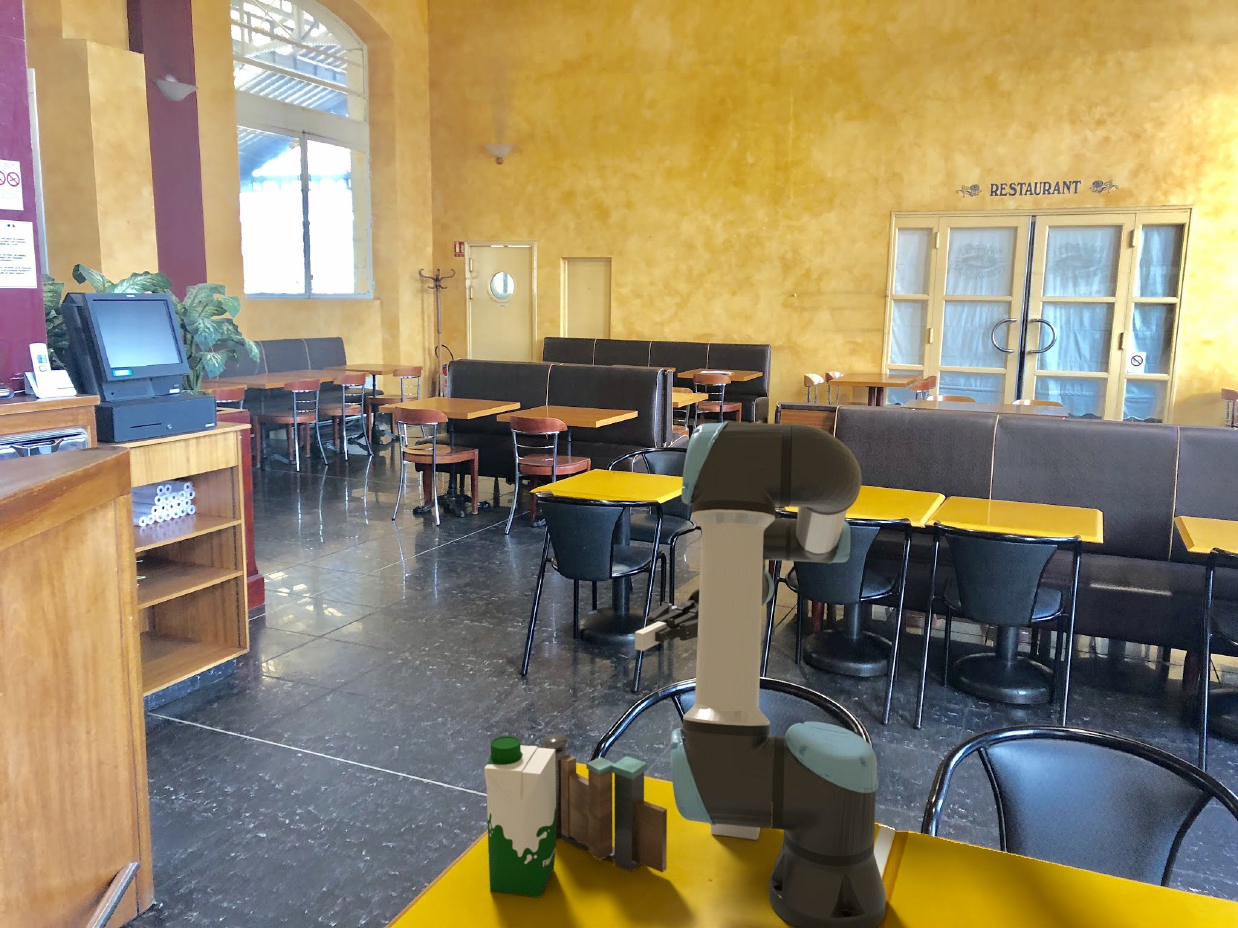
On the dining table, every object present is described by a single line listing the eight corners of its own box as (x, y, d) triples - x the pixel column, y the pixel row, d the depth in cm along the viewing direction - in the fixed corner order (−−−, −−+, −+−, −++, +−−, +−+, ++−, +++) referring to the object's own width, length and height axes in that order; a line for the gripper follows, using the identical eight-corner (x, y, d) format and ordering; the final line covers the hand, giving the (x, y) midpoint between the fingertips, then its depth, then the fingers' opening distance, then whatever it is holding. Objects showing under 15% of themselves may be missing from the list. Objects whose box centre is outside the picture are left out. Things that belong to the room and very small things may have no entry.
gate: (614, 852, 135) (614, 763, 133) (599, 860, 133) (599, 769, 131) (572, 828, 141) (572, 742, 139) (558, 834, 139) (557, 748, 137)
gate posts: (671, 871, 132) (672, 770, 130) (657, 883, 129) (657, 781, 127) (554, 824, 145) (553, 732, 142) (539, 834, 142) (538, 740, 140)
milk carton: (502, 858, 135) (499, 727, 132) (562, 866, 134) (561, 732, 131) (481, 894, 127) (477, 754, 124) (545, 902, 125) (544, 761, 122)
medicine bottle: (762, 816, 147) (764, 744, 145) (758, 840, 140) (759, 765, 138) (717, 811, 149) (718, 739, 147) (710, 834, 142) (711, 759, 140)
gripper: (749, 632, 160) (674, 674, 141) (684, 618, 167) (605, 656, 148) (750, 589, 159) (675, 625, 140) (685, 577, 166) (604, 610, 147)
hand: (639, 641), depth 144 cm, fingers closed
